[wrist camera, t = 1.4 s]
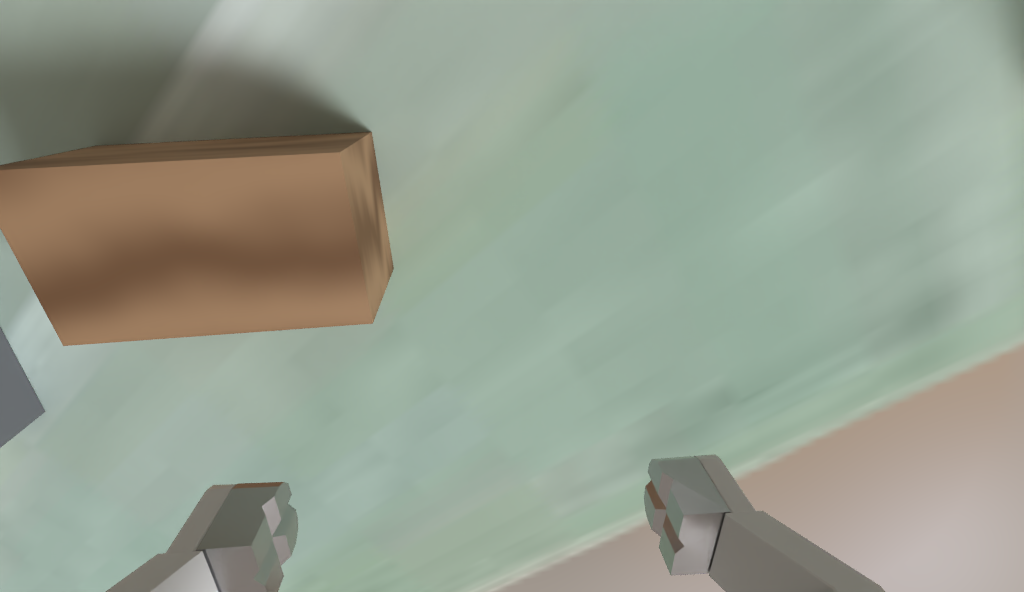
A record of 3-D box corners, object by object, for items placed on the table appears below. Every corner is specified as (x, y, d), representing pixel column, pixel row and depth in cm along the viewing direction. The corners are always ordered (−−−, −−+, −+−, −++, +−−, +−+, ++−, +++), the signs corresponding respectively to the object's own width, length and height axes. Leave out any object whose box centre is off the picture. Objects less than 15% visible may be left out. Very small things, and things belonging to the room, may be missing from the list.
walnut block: (98, 145, 28) (-30, 171, 21) (372, 131, 29) (339, 152, 22) (155, 283, 32) (63, 345, 25) (393, 267, 33) (372, 323, 25)
